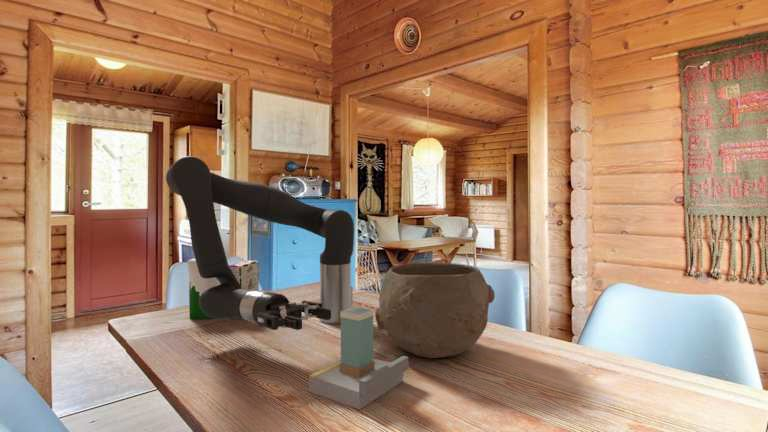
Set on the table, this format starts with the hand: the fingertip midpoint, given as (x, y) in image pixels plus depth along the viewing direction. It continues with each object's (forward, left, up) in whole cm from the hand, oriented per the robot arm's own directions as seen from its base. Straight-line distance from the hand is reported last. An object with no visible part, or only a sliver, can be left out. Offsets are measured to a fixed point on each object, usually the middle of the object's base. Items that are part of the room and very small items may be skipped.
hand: (316, 319), depth 87 cm
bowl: (-25, +14, -11) cm, 31 cm away
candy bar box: (-20, -51, -11) cm, 56 cm away
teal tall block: (0, +11, -8) cm, 14 cm away
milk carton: (-12, -59, -11) cm, 61 cm away
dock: (0, +11, -11) cm, 16 cm away
